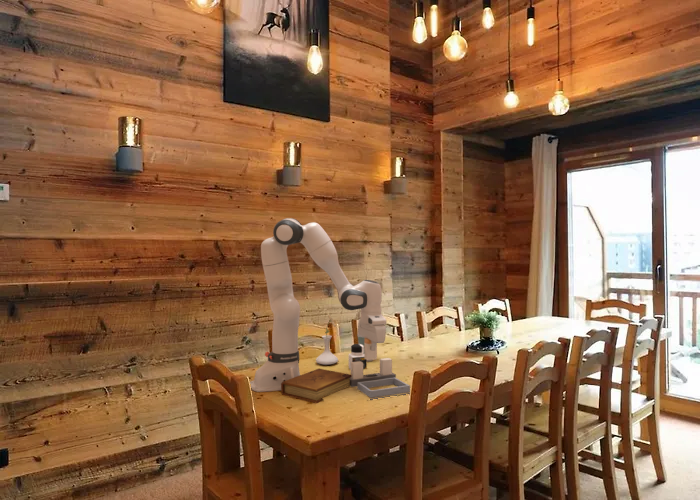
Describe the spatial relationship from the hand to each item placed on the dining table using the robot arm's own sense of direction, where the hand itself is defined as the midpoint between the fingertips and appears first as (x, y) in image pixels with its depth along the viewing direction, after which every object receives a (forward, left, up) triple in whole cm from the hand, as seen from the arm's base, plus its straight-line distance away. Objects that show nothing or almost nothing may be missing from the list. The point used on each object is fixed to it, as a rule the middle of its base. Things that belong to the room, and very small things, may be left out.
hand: (370, 349), depth 210 cm
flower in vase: (-5, +40, -15) cm, 43 cm away
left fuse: (-7, 0, -14) cm, 15 cm away
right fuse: (+7, 0, -14) cm, 16 cm away
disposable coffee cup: (+16, +37, -15) cm, 43 cm away
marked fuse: (0, 0, -4) cm, 4 cm away
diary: (-24, 0, -15) cm, 29 cm away
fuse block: (0, 0, -15) cm, 15 cm away
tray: (-1, -13, -15) cm, 20 cm away
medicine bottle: (+4, +23, -15) cm, 28 cm away
